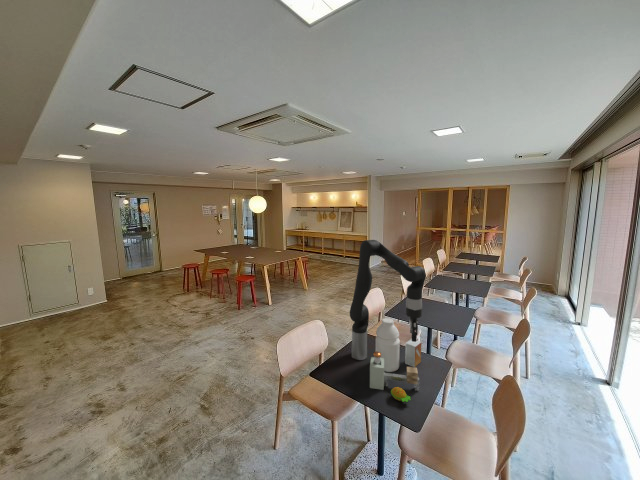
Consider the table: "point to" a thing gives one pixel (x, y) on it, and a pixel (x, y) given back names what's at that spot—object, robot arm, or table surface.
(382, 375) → the cabinet
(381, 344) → the bottle
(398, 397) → the toy pineapple
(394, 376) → the rail
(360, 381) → the table surface
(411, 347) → the small box
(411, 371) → the block
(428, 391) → the table surface
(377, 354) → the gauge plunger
